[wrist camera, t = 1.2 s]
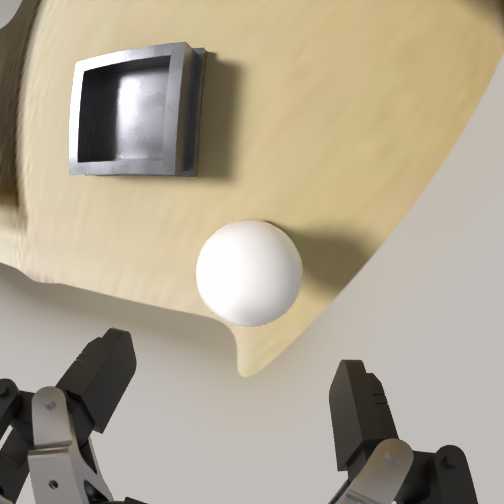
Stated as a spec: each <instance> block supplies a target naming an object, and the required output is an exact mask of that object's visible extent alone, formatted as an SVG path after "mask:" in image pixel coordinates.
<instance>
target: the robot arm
mask: <svg viewBox="0 0 504 504" xmlns="http://www.w3.org/2000/svg"><path fill="white" fill-rule="evenodd" d="M135 370H136V357H135V352H134V348H133V343H132V339H131V335H130V333H129V332H128V331H124V330H120V329H116V328H110V329H109V330H108V331H107V332H106V333H105V335H104V336H103V337H102V338H100V337H98V338H96V339H95V340H93V341H91V342H90V343H88V344H87V346H86V347H85V348H84V349H83V351H82V353H81V354H80V355H79V356H78V357H77V358H76V361H74V363H72V365H71V366H70V367H69V369H68V370H67V371H66V373H65V374H64V375H63V377H62V378H61V379H60V381H59V382H58V383H57V385H56V386H55V387H53V386H47V387H44V388H41V389H40V390H39V391H37V392H36V393H31V392H25V391H20V390H19V389H18V388H17V386H16V384H15V383H14V382H13V381H12V380H10V379H0V440H1V438H2V436H3V435H4V433H5V431H6V429H7V428H8V426H9V425H11V426H12V428H13V429H12V431H11V432H10V434H9V436H8V438H7V440H6V441H5V443H4V445H3V447H2V448H1V450H0V504H16V501H17V498H18V496H19V494H20V492H21V489H22V487H23V484H24V482H25V480H26V478H27V476H28V473H29V471H30V476H31V482H32V487H33V492H34V497H35V501H36V504H147V503H143V502H140V501H138V500H134V499H132V498H129V497H126V498H125V501H114V499H113V497H112V494H111V492H110V490H109V489H108V486H107V485H106V483H105V482H104V480H103V478H102V475H101V472H100V469H99V466H98V462H97V459H96V456H95V452H94V449H93V445H92V441H91V438H90V434H91V432H92V430H94V431H96V432H99V433H101V434H103V432H104V430H105V428H106V426H107V424H108V422H109V420H110V418H111V416H112V414H113V412H114V410H115V408H116V407H117V405H118V403H119V401H120V399H121V397H122V395H123V394H124V392H125V390H126V387H127V386H128V384H129V382H130V380H131V378H132V377H133V375H134V373H135ZM329 403H330V411H331V418H332V426H333V433H334V442H335V450H336V458H337V468H338V471H348V479H347V480H346V481H345V482H344V484H343V485H342V486H341V488H340V489H339V490H338V492H337V493H336V494H335V496H334V497H333V498H332V499H331V501H330V502H329V503H328V504H391V503H392V502H393V501H396V503H397V504H478V502H477V497H476V493H475V489H474V485H473V481H472V477H471V473H470V470H469V466H468V463H467V460H466V456H465V454H464V452H463V451H462V450H461V449H460V448H458V447H457V446H454V445H446V446H443V447H441V448H440V449H439V450H438V451H437V452H436V453H429V452H419V451H414V450H412V449H411V447H410V446H409V445H408V444H407V443H406V442H404V441H402V440H400V439H399V438H398V435H397V431H396V428H395V425H394V421H393V418H392V415H391V411H390V408H389V405H387V403H388V402H387V399H386V396H385V393H384V390H383V387H382V384H381V382H380V381H379V380H378V379H377V377H376V376H375V375H374V374H373V373H366V370H365V367H364V364H363V362H362V360H341V362H340V364H339V367H338V369H337V371H336V374H335V377H334V379H333V382H332V384H331V387H330V392H329Z"/></svg>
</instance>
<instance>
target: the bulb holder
mask: <svg viewBox="0 0 504 504" xmlns="http://www.w3.org/2000/svg"><path fill="white" fill-rule="evenodd" d="M206 53H207V51H206V50H205V49H204V48H191V47H190V46H189V45H188V44H187V43H186V42H180V43H170V44H162V45H154V46H148V47H141V48H136V49H130V50H125V51H120V52H116V53H111V54H107V55H103V56H99V57H95V58H91V59H87V60H84V61H81V62H77V63H76V69H75V76H74V83H73V92H72V102H71V114H70V134H69V174H70V175H85V176H88V175H158V176H186V177H194V176H196V175H197V158H198V141H199V126H200V113H201V101H202V90H203V80H204V70H205V61H206Z"/></svg>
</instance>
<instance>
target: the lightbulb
mask: <svg viewBox="0 0 504 504" xmlns="http://www.w3.org/2000/svg"><path fill="white" fill-rule="evenodd" d="M302 281H303V266H302V261H301V257H300V254H299V252H298V250H297V248H296V246H295V244H294V243H293V241H292V240H291V239H290V238H289V237H288V236H287V235H286V234H285V233H284V232H283V231H282V230H280V229H279V228H277V227H276V226H274V225H272V224H269V223H267V222H265V221H263V220H240V221H236V222H232V223H230V224H227V225H225V226H223V227H222V228H220V229H219V230H217V231H216V232H215V233H214V234H212V235H211V236H210V237H209V239H208V240H207V241H206V243H205V244H204V246H203V247H202V249H201V251H200V254H199V257H198V260H197V265H196V282H197V287H198V290H199V293H200V295H201V297H202V299H203V301H204V303H205V304H206V305H207V307H208V308H209V309H210V310H211V311H212V312H213V313H214V314H215V315H216V316H218V317H219V318H221V319H222V320H224V321H226V322H228V323H231V324H234V325H237V326H243V327H256V326H262V325H265V324H268V323H271V322H273V321H275V320H277V319H278V318H280V317H281V316H282V315H284V314H285V313H286V312H287V311H288V310H289V309H290V308H291V307H292V305H293V304H294V302H295V301H296V299H297V297H298V295H299V292H300V289H301V286H302Z"/></svg>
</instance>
